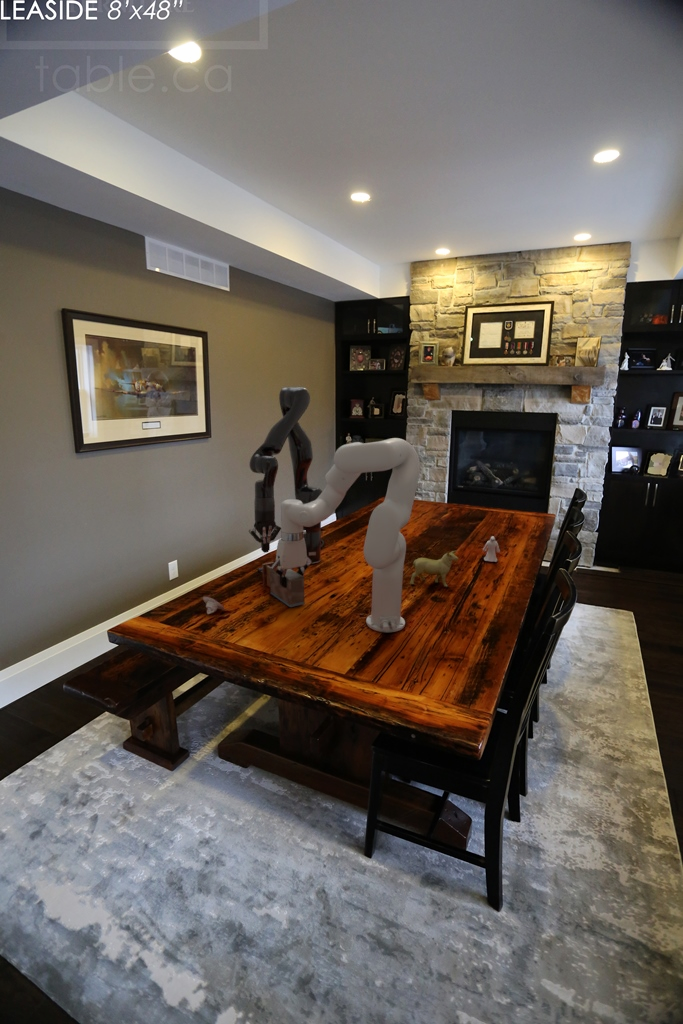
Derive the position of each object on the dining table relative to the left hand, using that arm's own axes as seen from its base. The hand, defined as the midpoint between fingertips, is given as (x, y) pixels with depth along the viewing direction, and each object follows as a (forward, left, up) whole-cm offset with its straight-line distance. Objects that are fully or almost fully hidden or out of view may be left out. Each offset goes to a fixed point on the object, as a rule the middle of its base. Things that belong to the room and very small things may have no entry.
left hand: (265, 551), depth 191 cm
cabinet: (+14, +12, -12) cm, 22 cm away
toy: (-10, +64, -13) cm, 66 cm away
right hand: (+16, +14, -6) cm, 22 cm away
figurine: (-44, +91, -13) cm, 102 cm away
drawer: (+5, +4, -12) cm, 14 cm away
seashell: (+28, -10, -13) cm, 32 cm away
